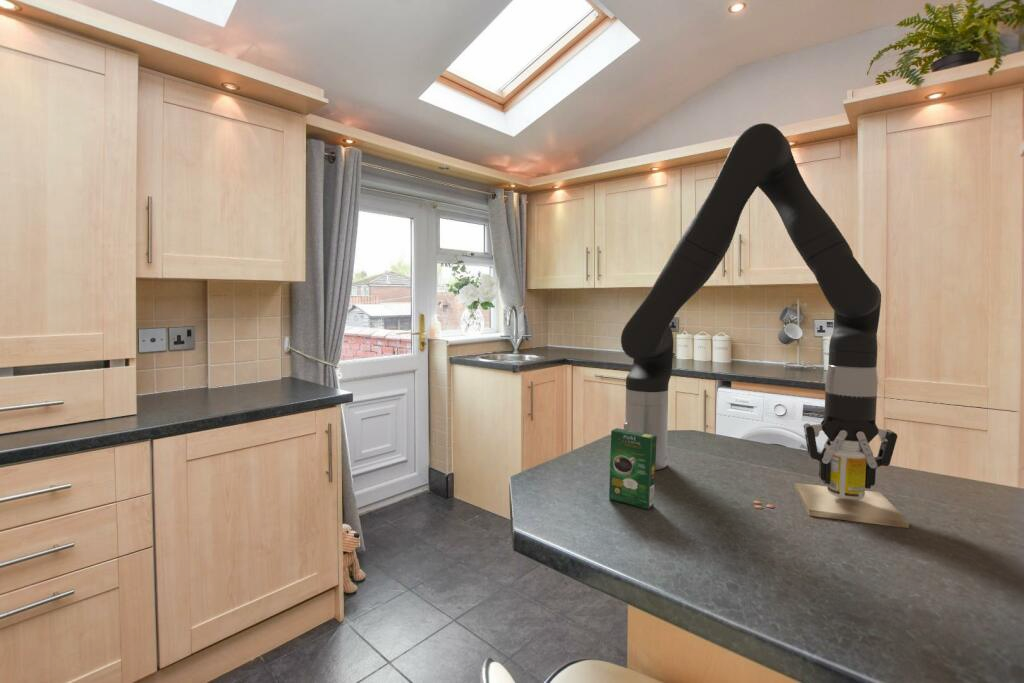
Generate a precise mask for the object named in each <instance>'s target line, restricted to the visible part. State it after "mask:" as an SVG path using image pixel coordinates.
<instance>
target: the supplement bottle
mask: <svg viewBox="0 0 1024 683" xmlns="http://www.w3.org/2000/svg"><path fill="white" fill-rule="evenodd" d="M834 447H835V446H834ZM829 463H830V465H831V466H830V484H827V487H828V491H829V493H830V494H832V495H834V496H836V497H839V498H843V499H849V500H859V499H862V498H864V496H865V491H866V488H865V479H866V456H865V454H864V453H863V452H862V451H861V446H860V444H859V441H851V440H843V442H842V443H841V445H840V447H839V448H838V450H837V452H836V453H833V457H832V458H831V460H830V462H829Z"/></svg>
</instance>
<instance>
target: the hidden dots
mask: <svg viewBox="0 0 1024 683" xmlns="http://www.w3.org/2000/svg"><path fill="white" fill-rule="evenodd" d="M752 503H754V504H755V505H753V507H754V508H755V509H759V510H762V509H764V507H763V506H762V505H761V504H762V501H759V500H753V501H752ZM765 507H766V508H769V509H774V508H776V506H775V505H773V504H765Z"/></svg>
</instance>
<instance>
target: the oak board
mask: <svg viewBox="0 0 1024 683" xmlns="http://www.w3.org/2000/svg"><path fill="white" fill-rule="evenodd" d="M794 490H795V491H796V494H797V496H798V497H799V499H800V501H801V503H802V504H803V507H804V509H805V511H806V513H807V514H808V516H810V517H818V518H827V519H835V520H844V521H849V522H855V523H856V522H857V523H865V524H873V525H874V524H875V525H881V526H889V527H897V528H904V529H905V528H906V529H909V528H910V521H909V520H908V519H907V518H906V517H905V516H904V515H903V514H902V513H901V512H900V511H899V510H898V509H897V508H896V507H895V506H894V505H893V504H892V503H891V502H890V501H889V500H888V499H887V498H886V497H885V496H884V495H883V494H882V493H881V492H880V491H871V490H865V496H864V498H862V499H859V500H849V499H843V498H839V497H836V496H834V495H832V494H830V493H829V491H828V485H825V486H824V485H819V484H818V485H816V484H806V483H798V482H794Z"/></svg>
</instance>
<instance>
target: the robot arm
mask: <svg viewBox="0 0 1024 683" xmlns="http://www.w3.org/2000/svg"><path fill="white" fill-rule="evenodd" d="M726 156H727V157H726V158H725V160H724V162H723V164H722V167H721V169H720V171H719V173H718V175H717V177H716V180H715V182H713V185H712V187H711V189H710V191H709V193H708V194H707V196H706V198H705V199H704V200H703V202H702V204H701V205H700V207H699V208H698V210H697V211H696V213H695V215H694V217H692V220H691V222H690V223H689V225H688V227H687V228H686V230H685V231H684V233H683V234H682V236H681V237H680V238H679V241H678V242H677V244H676V246H675V247H674V249H673V251H672V253H671V255H670V256H669V258H668V260H667V262H665V265H664V267H663V268H662V270H661V272H660V273H659V274H658V277H657V278H656V280H655V282H654V284H653V286H651V287H652V288H651V289H650V291H649V292H648V294H647V295H646V296H645V298H644V300H643V301H642V303H641V304H640V305H639V306H638V308H637V309H636V311H635V312H634V313H633V314H632V316H631V317H630V318H629V320H628V321H627V323H625V326H624V327H623V329H622V332H621V337H620V344H621V347H622V348H621V349H622V351H623V352H624V354H625V355H626V356H628V357H629V358H631V359H632V360H633V363H632V366H631V369H630V371H629V373H628V374H627V376H626V378H625V415H624V416H625V418H624V419H625V422H624V423H623V429H624V430H630V431H635V432H640V433H646V434H651V435H657V441H656V465H655V471H658V470H662V469H665V468H666V467H667V466H668V465H667V463H668V424H669V420H668V417H669V413H668V412H669V383H670V380H671V376H672V373H673V360H674V359H673V358H674V334H673V330H672V328H671V327H670V325H671V323H672V321H673V319H674V317H675V316H676V315H677V313H678V312H679V311H680V309H681V308H682V307H683V306H684V305H685V304H686V303H687V302H688V301H689V300H690V299H691V298H692V297H693V296H694V295H695V294H696V293H697V292H698V291H699V290H701V288H702V287H703V286H704V285H705V284H706V283H707V282H708V281H709V280H710V279H711V277H712V275H713V274H714V273H715V271H716V269H717V268H718V267H719V265H720V263H721V262H722V261H723V259H724V257H725V256H726V253H727V252H728V250H729V248H730V246H731V243H732V241H733V240H734V239H733V238H734V236H735V234H736V230H737V228H738V224H739V221H740V218H741V215H742V213H743V210H744V208H745V207H746V204H747V202H748V201H749V199H751V196H752V195H753V194H754V192H755V190H757V188H758V189H760V190H761V192H762V193H763V194H764V195H765V196H766V197H767V198H768V199H769V201H770V202H771V203H772V205H773V206H774V208H775V209H776V211H777V213H778V215H779V218H780V219H781V221H782V223H783V226H784V228H785V230H786V232H787V233H788V236H789V238H790V240H791V241H792V244H793V245H794V247H795V249H796V250H797V252H798V253H799V255H800V256H801V259H802V260H803V261H804V263H805V264H806V266H807V267H808V269H809V270H810V271H811V273H812V274H813V275H814V277H815V279H816V282H817V283H818V286H819V287H820V289H821V291H822V293H823V296H824V297H825V299H826V301H827V302H828V304H829V306H830V307H831V309H833V332H832V334H831V337H830V339H829V344H828V365H827V371H826V376H825V383H824V388H825V390H824V391H825V393H824V412H823V413H824V414H823V415H824V416H823V420H822V421H821V422H820V423H819V424H811V423H804V425H803V431H804V438H805V443H806V448H807V449H806V450H807V453H808V455H809V456H810V457H811V459H812V460H817V461H818V477H819V478H820V480H821V481H822V482H823V484H824V485H828V484H830V466H831V465H830V463H829V462H830V460H831V458H832V457H833V453H836V452H837V450H838V448H839V447H840V445H841V443H842V442H843V440H851V441H859V444H860V446H861V451H862V452H863V453H864V454H865V456H866V479H865V489H868V490H870V489H871V488H872V486H873V487H874V486H875V484H876V474H877V473H876V470H877V468H878V467H879V468H880V467H882V466H883V467H888V466H890V464H891V461H892V457H893V454H894V450H895V447H896V444H897V439H898V434H897V433H895V432H894V431H893V430H890V429H881V428H879V427H878V426H877V423H876V420H877V417H876V416H877V401H878V400H877V399H878V380H879V379H878V373H877V371H878V370H877V366H878V365H877V364H878V335H877V334H878V331H879V330H878V328H879V322H880V315H881V309H882V308H881V307H882V293H881V289H880V288H879V287H878V285H877V284H876V283H875V282H874V281H872V279H871V278H870V277H869V275H868V274H867V273H866V271H865V270H864V268H863V267H862V266H861V264H860V263H859V262H858V260H857V259H856V258H855V256H854V254H853V250H852V248H851V247H850V246H851V245H850V244H849V243H848V242H847V239H846V238H845V237H844V235H843V234H842V232H841V231H840V230H839V228H838V227H837V225H836V224H835V222H834V221H833V219H832V218H831V216H829V214H828V213H827V211H826V210H825V208H823V207H822V205H821V204H820V203H819V201H818V199H816V197H815V196H814V194H813V193H812V191H811V190H810V189H809V187H808V185H807V184H806V181H805V180H804V178H803V176H802V174H801V172H800V169H799V168H798V165H797V163H796V160H795V157H794V155H793V152H792V149H791V144H790V142H789V140H788V138H787V137H786V136H785V135H784V134H783V133H782V131H781V130H779V129H778V127H776V126H775V125H773V124H771V123H764V122H763V123H762V122H761V123H756V124H754V125H752V126H749V127H748V128H747V129H745V130H744V131H742V132H741V134H740V135H739V136H738V137H737V138H736V139H735V140H734V143H733V145H732V146H731V148H730V150H729V152H728V154H727V155H726ZM821 431H822V432H823V433H824V435H826V437H827V439H826V441H825V443H824V445H823V448H822V449H821V451H818V446H817V441H816V438H818V437H819V435H820V432H821ZM877 435H878V439H879V441H880V442H881V443H880V445H879V450H878V454H877V456H874V453H873V451H872V448H871V446H870V444H869V443H870V442H871V441H873V439H874V438H876V436H877ZM834 446H835V447H834Z"/></svg>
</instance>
